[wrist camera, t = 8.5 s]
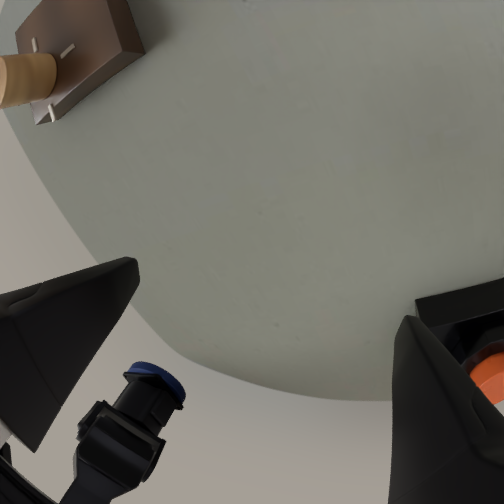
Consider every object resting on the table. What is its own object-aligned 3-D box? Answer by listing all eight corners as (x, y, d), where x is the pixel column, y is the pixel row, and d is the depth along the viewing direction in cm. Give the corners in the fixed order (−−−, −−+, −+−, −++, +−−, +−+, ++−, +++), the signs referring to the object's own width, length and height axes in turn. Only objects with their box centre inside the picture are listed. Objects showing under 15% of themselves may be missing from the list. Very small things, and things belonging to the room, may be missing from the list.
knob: (62, 82, 15) (7, 89, 11) (35, 110, 17) (-15, 122, 13) (51, 43, 14) (-2, 45, 10) (25, 72, 16) (-23, 79, 12)
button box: (416, 374, 22) (422, 422, 17) (414, 299, 19) (427, 350, 14) (516, 347, 18) (534, 389, 13) (531, 269, 15) (561, 309, 11)
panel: (52, 138, 21) (29, 145, 18) (27, 42, 17) (5, 43, 14) (150, 66, 16) (125, 64, 14) (113, -40, 12) (90, -48, 10)
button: (465, 392, 16) (469, 412, 14) (471, 359, 14) (478, 379, 13) (507, 380, 14) (513, 398, 13) (517, 345, 13) (526, 363, 11)
